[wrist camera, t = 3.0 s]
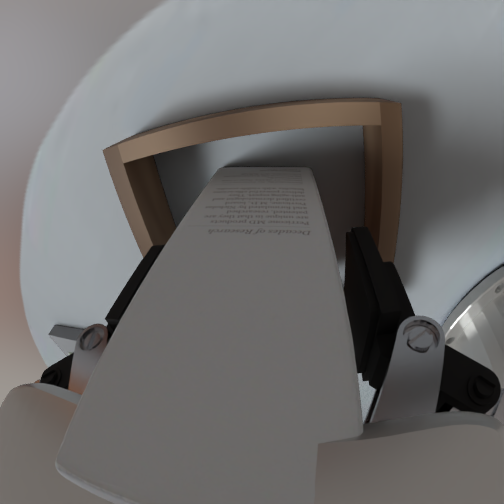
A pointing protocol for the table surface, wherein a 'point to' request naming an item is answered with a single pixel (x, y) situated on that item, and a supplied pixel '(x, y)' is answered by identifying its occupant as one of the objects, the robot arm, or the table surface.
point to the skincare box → (225, 357)
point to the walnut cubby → (253, 122)
